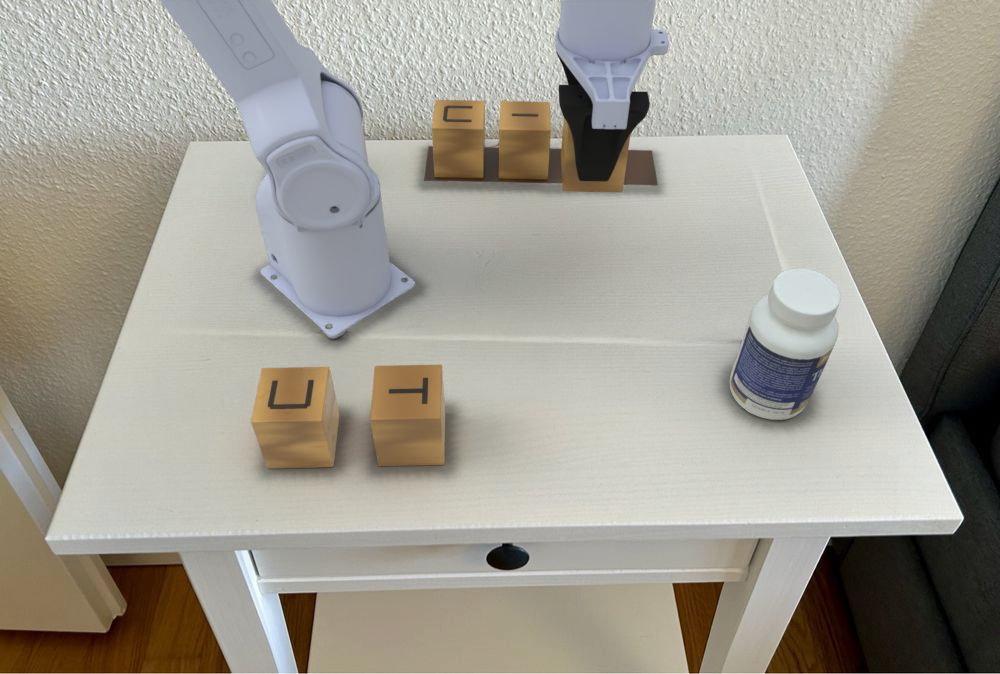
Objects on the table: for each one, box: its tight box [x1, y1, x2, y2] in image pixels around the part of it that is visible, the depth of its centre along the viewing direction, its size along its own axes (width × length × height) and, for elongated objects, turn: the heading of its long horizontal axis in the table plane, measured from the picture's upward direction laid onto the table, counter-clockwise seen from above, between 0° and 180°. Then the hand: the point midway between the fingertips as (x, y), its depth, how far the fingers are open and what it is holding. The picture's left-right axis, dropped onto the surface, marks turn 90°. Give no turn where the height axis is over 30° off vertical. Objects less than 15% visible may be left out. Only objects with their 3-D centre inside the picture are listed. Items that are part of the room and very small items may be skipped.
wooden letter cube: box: [560, 117, 632, 193], centre depth 59 cm, size 4×4×5 cm
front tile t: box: [369, 364, 446, 467], centre depth 53 cm, size 4×4×5 cm
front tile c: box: [250, 366, 341, 470], centre depth 53 cm, size 4×4×5 cm
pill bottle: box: [729, 267, 841, 421], centre depth 54 cm, size 5×5×10 cm
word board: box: [423, 145, 658, 186], centre depth 74 cm, size 20×5×1 cm, turn 89°
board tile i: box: [498, 100, 552, 180], centre depth 72 cm, size 4×4×5 cm
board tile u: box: [431, 99, 486, 178], centre depth 72 cm, size 4×4×5 cm
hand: (591, 157), depth 60 cm, fingers closed on wooden letter cube, 4 cm apart
